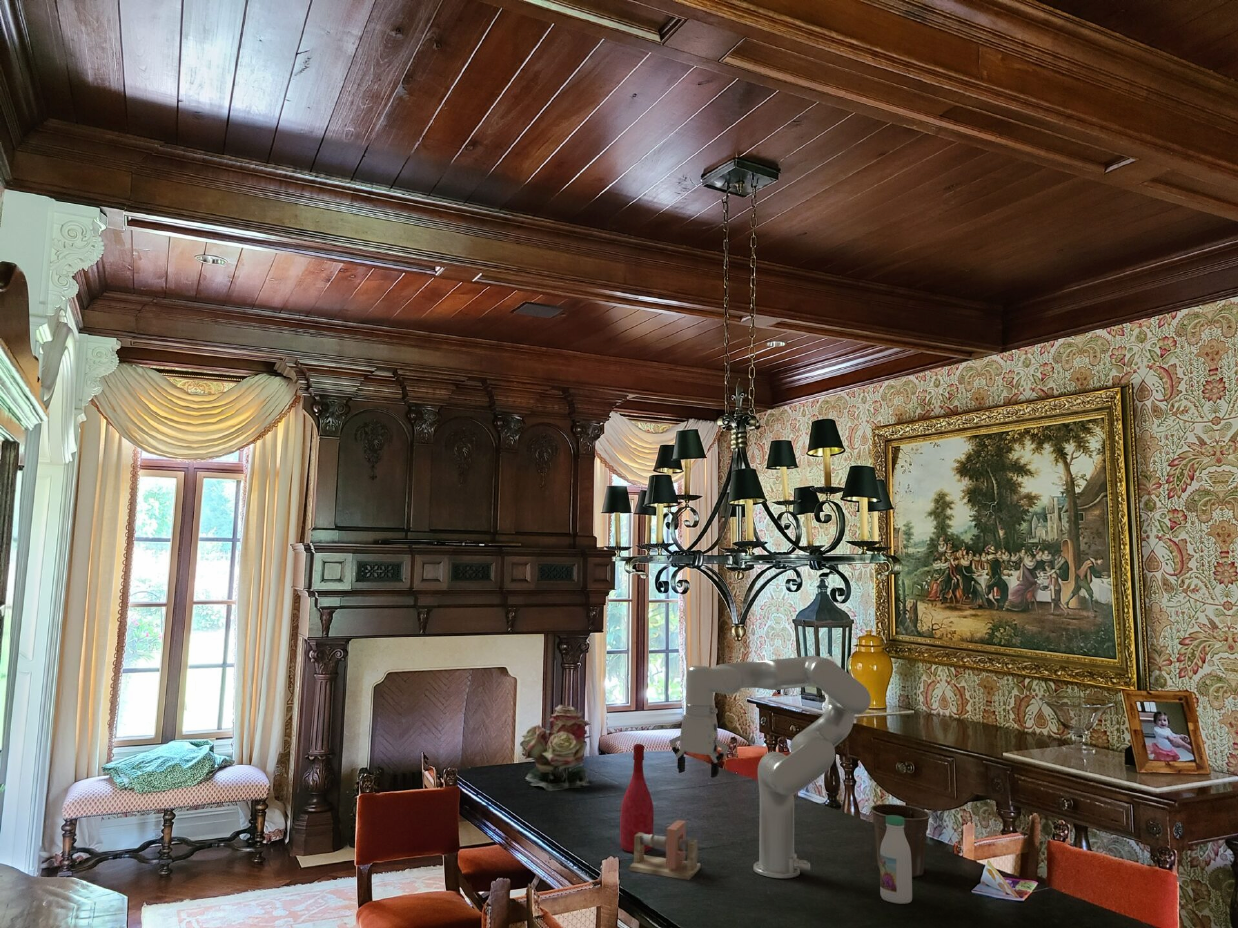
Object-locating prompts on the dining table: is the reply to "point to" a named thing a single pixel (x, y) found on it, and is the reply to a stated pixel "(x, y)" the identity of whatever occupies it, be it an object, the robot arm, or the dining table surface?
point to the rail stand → (659, 864)
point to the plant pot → (913, 830)
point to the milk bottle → (895, 863)
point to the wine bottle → (636, 805)
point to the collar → (675, 844)
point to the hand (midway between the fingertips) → (697, 774)
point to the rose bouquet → (557, 750)
